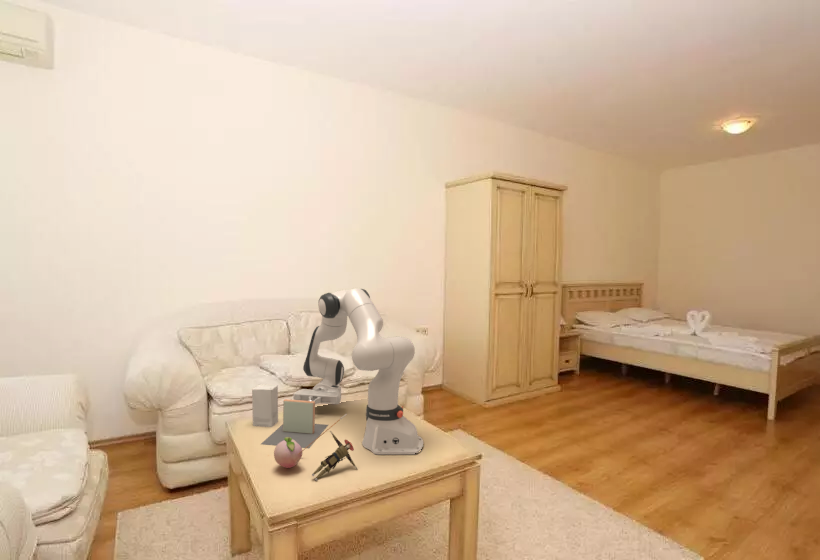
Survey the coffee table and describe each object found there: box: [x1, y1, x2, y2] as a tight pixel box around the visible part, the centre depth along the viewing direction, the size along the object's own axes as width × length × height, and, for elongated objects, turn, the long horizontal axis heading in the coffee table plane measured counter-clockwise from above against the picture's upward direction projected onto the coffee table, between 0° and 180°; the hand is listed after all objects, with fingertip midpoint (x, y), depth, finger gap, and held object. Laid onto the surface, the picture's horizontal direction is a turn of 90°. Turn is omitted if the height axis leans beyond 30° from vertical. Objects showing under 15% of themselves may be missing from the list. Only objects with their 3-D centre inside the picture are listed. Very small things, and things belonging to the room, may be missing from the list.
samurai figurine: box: [298, 413, 359, 482], centre depth 135 cm, size 16×10×20 cm
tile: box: [282, 398, 316, 434], centre depth 161 cm, size 12×2×12 cm, turn 83°
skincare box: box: [251, 384, 279, 428], centre depth 168 cm, size 8×7×16 cm
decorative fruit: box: [273, 437, 303, 469], centre depth 134 cm, size 9×8×10 cm
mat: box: [260, 423, 329, 449], centre depth 160 cm, size 18×22×1 cm
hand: (311, 402), depth 175 cm, fingers closed
